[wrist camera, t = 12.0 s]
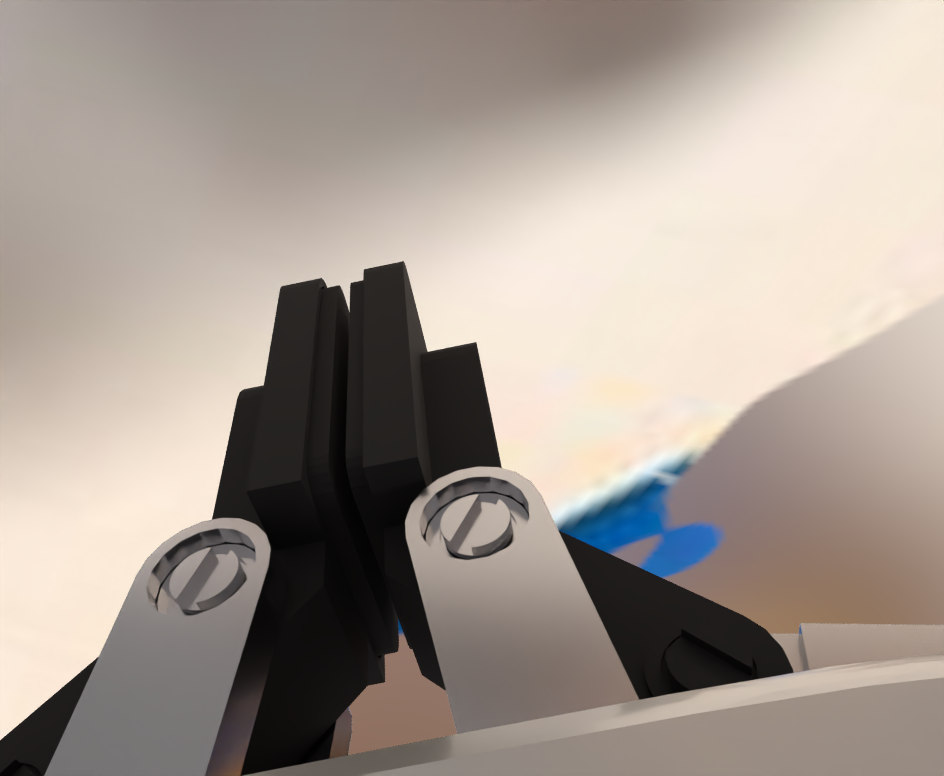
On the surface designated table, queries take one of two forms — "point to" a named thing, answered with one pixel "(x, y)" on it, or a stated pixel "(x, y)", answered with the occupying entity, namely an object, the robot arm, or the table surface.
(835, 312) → the table surface
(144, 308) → the table surface
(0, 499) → the table surface
